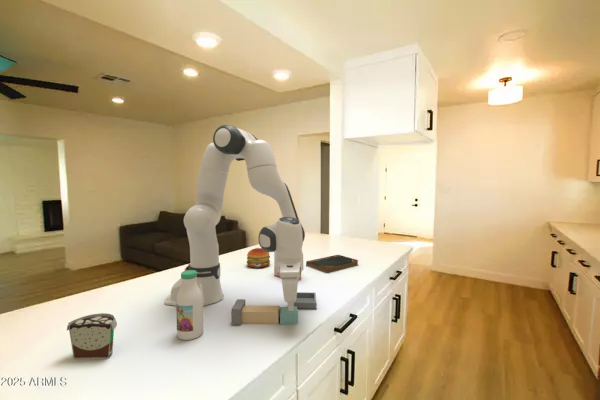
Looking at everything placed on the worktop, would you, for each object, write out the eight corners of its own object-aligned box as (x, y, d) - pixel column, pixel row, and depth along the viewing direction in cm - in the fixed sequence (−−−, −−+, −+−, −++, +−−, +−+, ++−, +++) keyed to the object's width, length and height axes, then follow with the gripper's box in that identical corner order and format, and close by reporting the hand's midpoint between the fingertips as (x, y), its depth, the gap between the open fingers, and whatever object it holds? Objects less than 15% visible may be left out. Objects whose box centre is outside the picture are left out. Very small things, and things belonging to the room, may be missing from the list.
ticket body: (230, 325, 97) (229, 308, 97) (235, 314, 105) (235, 299, 105) (277, 325, 97) (277, 309, 97) (280, 314, 105) (280, 299, 105)
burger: (244, 269, 160) (243, 251, 159) (249, 262, 173) (249, 245, 173) (268, 269, 159) (268, 251, 159) (271, 262, 173) (271, 246, 172)
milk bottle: (194, 325, 97) (193, 266, 96) (208, 333, 92) (207, 271, 91) (172, 335, 91) (170, 272, 90) (185, 343, 86) (183, 277, 85)
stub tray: (289, 309, 110) (289, 302, 110) (290, 298, 120) (290, 292, 120) (316, 309, 110) (316, 302, 109) (315, 298, 120) (315, 292, 120)
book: (326, 274, 152) (358, 266, 167) (326, 267, 152) (358, 260, 167) (305, 266, 166) (337, 259, 181) (305, 260, 166) (337, 254, 181)
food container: (127, 345, 85) (126, 312, 85) (114, 358, 79) (113, 322, 79) (84, 346, 85) (82, 312, 84) (68, 358, 79) (66, 323, 78)
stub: (280, 324, 98) (280, 313, 98) (279, 317, 103) (279, 306, 103) (297, 324, 99) (297, 312, 98) (296, 317, 104) (296, 306, 103)
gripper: (283, 257, 110) (284, 292, 111) (279, 274, 90) (280, 317, 91) (299, 256, 110) (300, 292, 111) (299, 273, 90) (300, 317, 91)
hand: (291, 303), depth 101 cm, fingers open, 8 cm apart
